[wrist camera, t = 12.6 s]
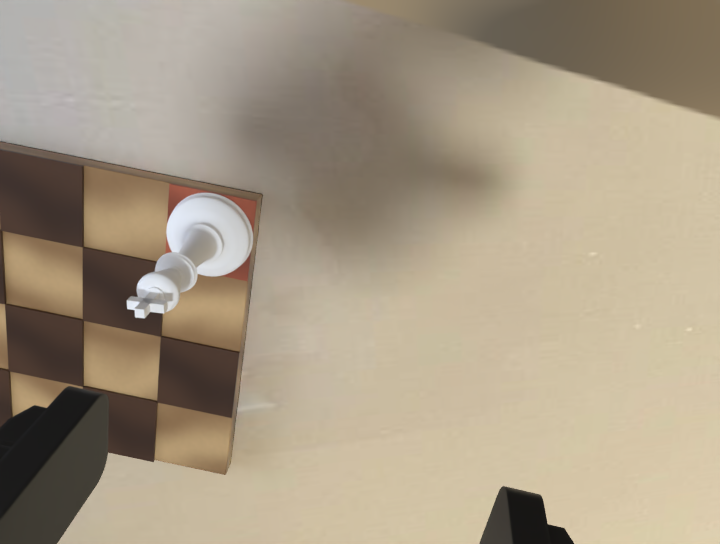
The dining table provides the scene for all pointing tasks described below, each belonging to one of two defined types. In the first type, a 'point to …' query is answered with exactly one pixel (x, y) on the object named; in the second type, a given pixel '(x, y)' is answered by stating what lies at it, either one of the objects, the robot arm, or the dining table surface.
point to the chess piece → (194, 250)
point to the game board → (116, 306)
